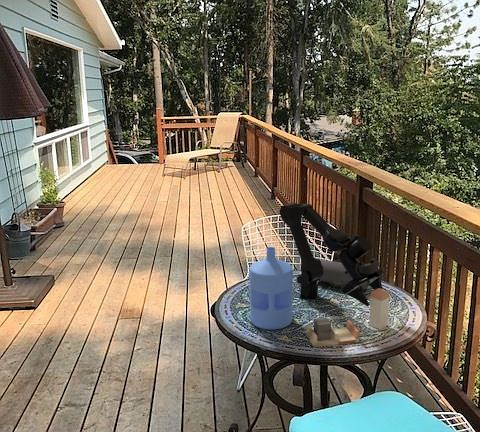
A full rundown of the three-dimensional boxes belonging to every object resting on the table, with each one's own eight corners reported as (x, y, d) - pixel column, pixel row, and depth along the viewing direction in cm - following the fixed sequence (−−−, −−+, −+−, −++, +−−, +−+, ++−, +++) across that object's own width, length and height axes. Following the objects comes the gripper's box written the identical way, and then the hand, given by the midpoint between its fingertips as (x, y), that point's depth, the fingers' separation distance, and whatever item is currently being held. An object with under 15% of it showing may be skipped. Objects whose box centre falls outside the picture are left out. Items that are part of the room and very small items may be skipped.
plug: (369, 325, 176) (371, 291, 172) (376, 320, 178) (378, 288, 175) (380, 329, 172) (382, 295, 169) (387, 325, 175) (389, 291, 171)
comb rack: (306, 335, 170) (306, 317, 168) (349, 330, 172) (349, 312, 170) (314, 347, 162) (314, 328, 160) (359, 342, 165) (359, 323, 163)
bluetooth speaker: (371, 287, 206) (372, 264, 204) (364, 295, 199) (365, 272, 196) (320, 276, 218) (321, 255, 215) (312, 284, 210) (312, 262, 208)
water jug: (250, 310, 189) (248, 241, 181) (291, 310, 188) (291, 240, 180) (249, 331, 174) (248, 256, 166) (294, 330, 173) (294, 256, 165)
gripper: (349, 260, 167) (375, 300, 162) (380, 247, 179) (406, 283, 174) (330, 275, 175) (354, 313, 170) (361, 261, 187) (385, 297, 182)
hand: (376, 301), depth 174 cm, fingers open, 9 cm apart
